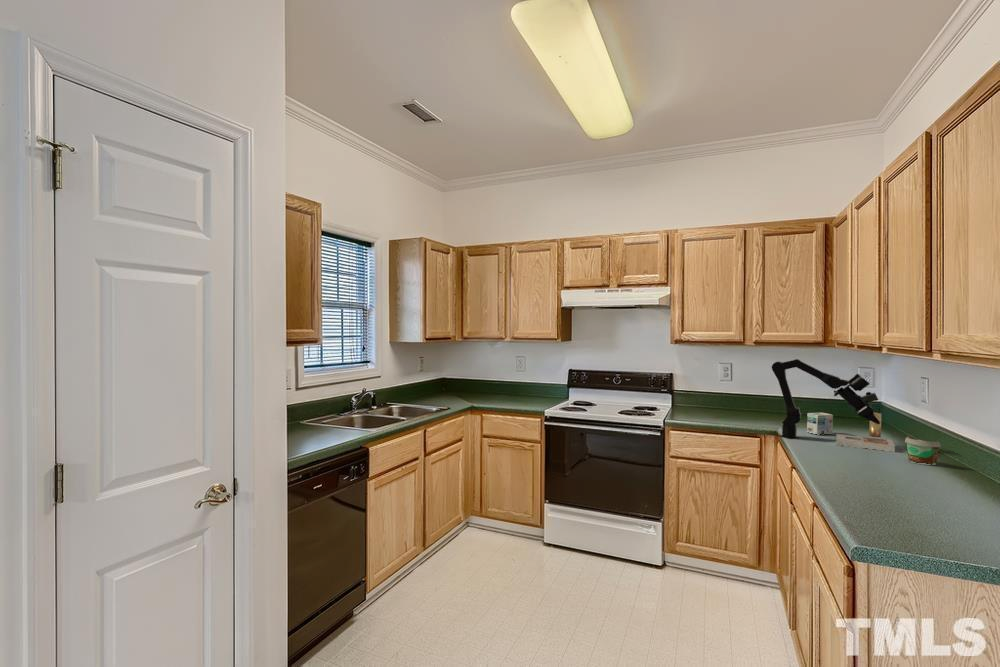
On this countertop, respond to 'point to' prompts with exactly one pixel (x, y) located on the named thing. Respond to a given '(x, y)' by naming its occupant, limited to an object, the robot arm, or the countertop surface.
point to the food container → (922, 451)
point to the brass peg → (875, 427)
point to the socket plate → (865, 442)
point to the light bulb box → (819, 423)
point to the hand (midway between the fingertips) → (879, 422)
